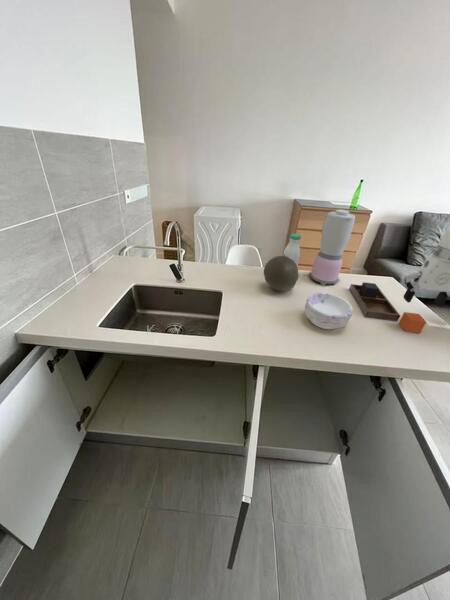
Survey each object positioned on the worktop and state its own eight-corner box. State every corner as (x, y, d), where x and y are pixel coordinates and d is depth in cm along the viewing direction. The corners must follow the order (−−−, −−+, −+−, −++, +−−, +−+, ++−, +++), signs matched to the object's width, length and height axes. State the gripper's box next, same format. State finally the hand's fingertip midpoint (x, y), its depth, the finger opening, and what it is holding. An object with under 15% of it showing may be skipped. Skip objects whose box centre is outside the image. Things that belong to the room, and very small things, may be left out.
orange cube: (412, 325, 89) (419, 313, 86) (419, 333, 84) (426, 322, 82) (398, 323, 89) (404, 312, 86) (404, 331, 85) (410, 320, 82)
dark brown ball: (282, 280, 114) (288, 250, 106) (301, 295, 103) (309, 262, 95) (256, 284, 110) (260, 253, 102) (272, 300, 98) (278, 266, 91)
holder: (375, 292, 109) (378, 287, 108) (397, 321, 90) (400, 315, 89) (349, 289, 110) (350, 284, 109) (364, 317, 92) (367, 311, 90)
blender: (341, 285, 113) (366, 214, 97) (319, 287, 110) (340, 214, 94) (322, 271, 126) (340, 206, 110) (301, 272, 123) (316, 206, 107)
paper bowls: (337, 341, 79) (345, 321, 74) (294, 321, 87) (299, 302, 83) (352, 321, 89) (359, 303, 84) (312, 305, 97) (317, 287, 93)
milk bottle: (297, 274, 121) (306, 234, 111) (292, 279, 116) (301, 238, 105) (282, 270, 125) (290, 231, 114) (277, 275, 119) (284, 235, 108)
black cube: (370, 293, 106) (375, 283, 104) (375, 299, 102) (379, 289, 100) (359, 292, 107) (362, 282, 104) (362, 297, 103) (366, 287, 100)
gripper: (425, 254, 70) (399, 304, 79) (491, 262, 68) (457, 312, 77) (413, 246, 76) (389, 293, 85) (473, 253, 74) (443, 300, 83)
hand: (421, 302), depth 81 cm, fingers open, 9 cm apart
